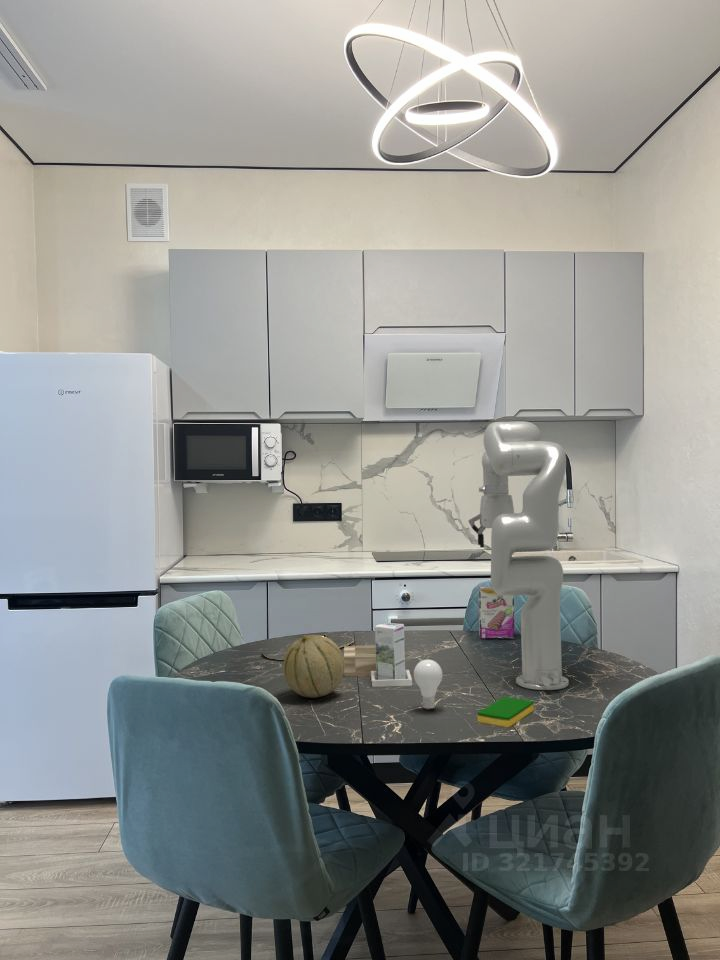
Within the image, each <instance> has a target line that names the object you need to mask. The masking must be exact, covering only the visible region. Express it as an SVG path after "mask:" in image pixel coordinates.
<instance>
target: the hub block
mask: <svg viewBox="0 0 720 960" xmlns="http://www.w3.org/2000/svg"><path fill="white" fill-rule="evenodd" d="M343 657H344V662H345V669H344V675H343V677H344V676H345V677H368V676H369V677H371V671H376V644H371V645H350V646H344V648H343Z"/></svg>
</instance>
